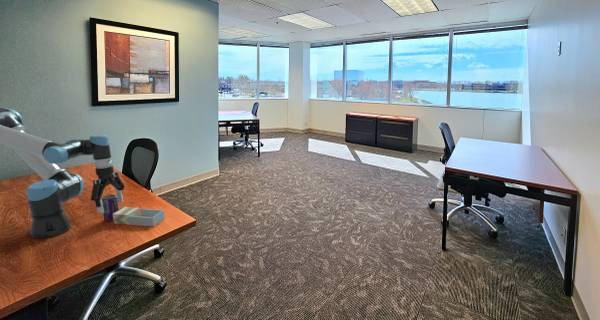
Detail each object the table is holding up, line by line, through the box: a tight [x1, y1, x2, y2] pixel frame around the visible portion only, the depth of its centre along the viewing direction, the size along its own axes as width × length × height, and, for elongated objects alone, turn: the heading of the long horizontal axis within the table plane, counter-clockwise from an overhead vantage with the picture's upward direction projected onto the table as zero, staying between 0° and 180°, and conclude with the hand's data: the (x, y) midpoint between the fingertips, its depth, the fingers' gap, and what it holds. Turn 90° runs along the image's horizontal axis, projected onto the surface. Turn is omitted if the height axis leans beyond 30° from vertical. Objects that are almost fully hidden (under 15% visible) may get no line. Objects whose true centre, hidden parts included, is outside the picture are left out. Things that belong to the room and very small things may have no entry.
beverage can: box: [101, 194, 120, 222], centre depth 164 cm, size 7×7×12 cm
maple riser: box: [113, 206, 141, 225], centre depth 163 cm, size 8×9×5 cm
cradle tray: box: [128, 208, 166, 227], centre depth 162 cm, size 13×10×4 cm
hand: (111, 207), depth 163 cm, fingers open, 13 cm apart
